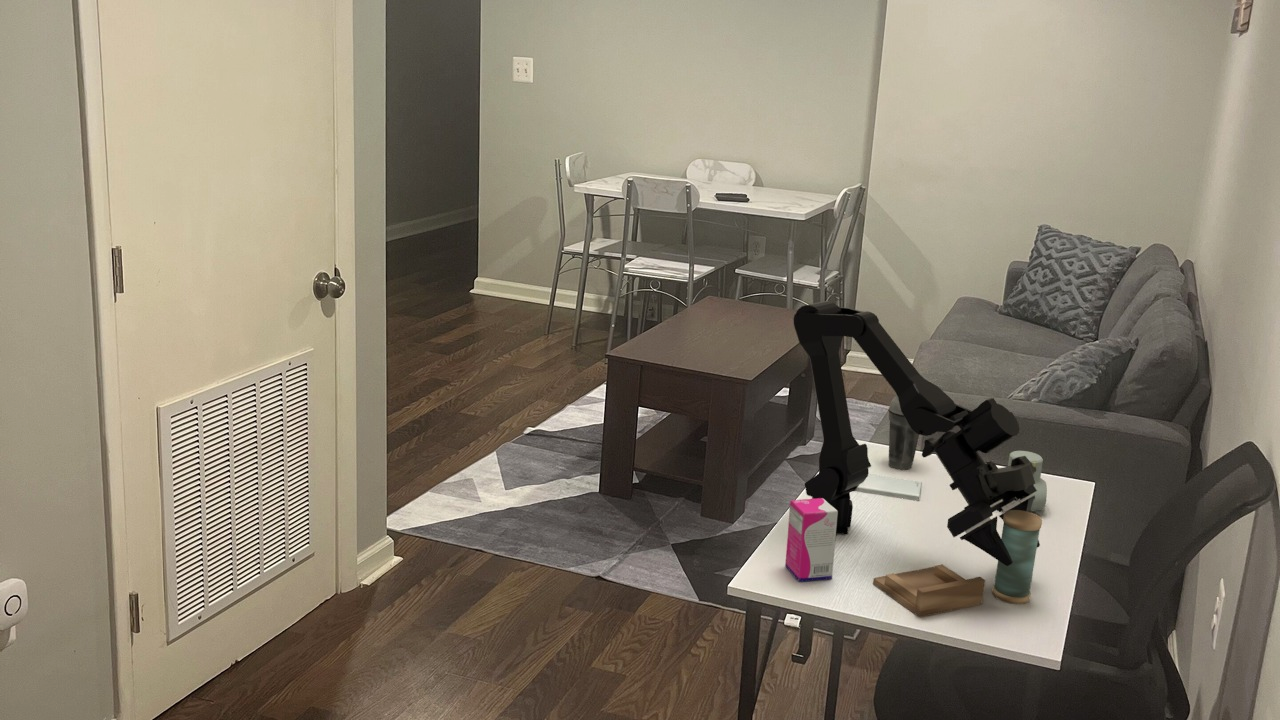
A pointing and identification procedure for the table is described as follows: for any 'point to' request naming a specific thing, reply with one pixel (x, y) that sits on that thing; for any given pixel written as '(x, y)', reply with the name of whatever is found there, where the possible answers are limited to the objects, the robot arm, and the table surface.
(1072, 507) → the table surface
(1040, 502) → the air freshener
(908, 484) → the hard drive
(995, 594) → the oak spool
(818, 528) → the supplement box
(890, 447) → the beverage cup
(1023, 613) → the table surface
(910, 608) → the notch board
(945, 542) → the table surface
